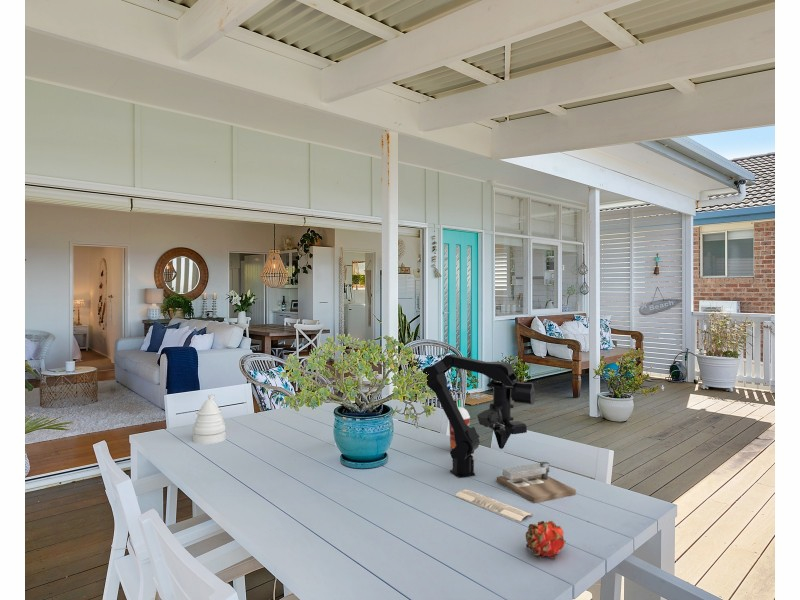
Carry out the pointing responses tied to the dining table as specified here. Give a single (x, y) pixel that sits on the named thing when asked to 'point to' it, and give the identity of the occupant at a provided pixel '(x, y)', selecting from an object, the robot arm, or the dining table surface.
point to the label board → (537, 487)
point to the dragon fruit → (545, 539)
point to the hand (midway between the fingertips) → (501, 448)
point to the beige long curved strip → (493, 505)
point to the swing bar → (526, 470)
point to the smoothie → (467, 421)
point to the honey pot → (209, 424)
